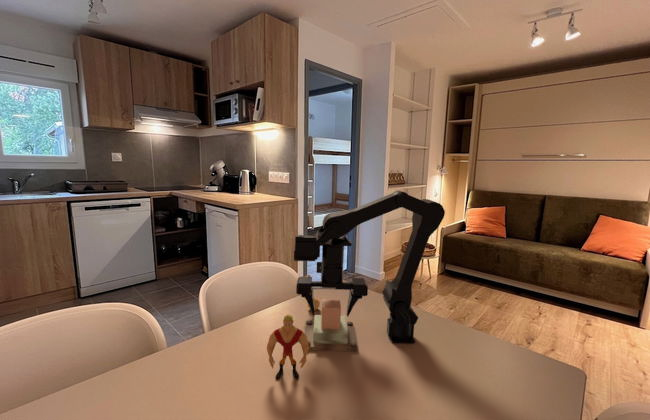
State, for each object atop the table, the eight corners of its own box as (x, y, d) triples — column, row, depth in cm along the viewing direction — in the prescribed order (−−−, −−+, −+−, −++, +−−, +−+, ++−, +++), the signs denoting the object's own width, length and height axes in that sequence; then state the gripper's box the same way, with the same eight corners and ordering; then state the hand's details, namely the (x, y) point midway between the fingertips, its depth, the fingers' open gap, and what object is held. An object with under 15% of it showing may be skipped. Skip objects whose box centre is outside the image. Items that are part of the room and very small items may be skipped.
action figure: (265, 381, 65) (265, 318, 63) (267, 369, 69) (267, 310, 66) (308, 381, 66) (309, 318, 63) (308, 369, 69) (309, 310, 67)
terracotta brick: (339, 319, 84) (339, 299, 83) (340, 329, 79) (340, 308, 78) (321, 318, 84) (322, 299, 83) (321, 328, 79) (322, 307, 78)
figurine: (321, 315, 94) (322, 279, 92) (302, 316, 93) (303, 280, 91) (317, 302, 102) (318, 269, 100) (300, 303, 101) (300, 270, 99)
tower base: (352, 325, 88) (353, 313, 88) (357, 351, 77) (358, 337, 76) (305, 324, 88) (306, 311, 88) (303, 350, 76) (303, 335, 76)
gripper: (363, 252, 87) (360, 302, 89) (299, 250, 87) (299, 300, 89) (369, 265, 76) (366, 322, 78) (296, 264, 76) (295, 320, 78)
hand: (330, 315), depth 81 cm, fingers open, 9 cm apart
